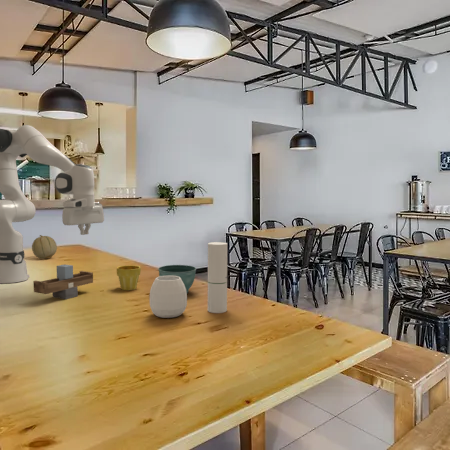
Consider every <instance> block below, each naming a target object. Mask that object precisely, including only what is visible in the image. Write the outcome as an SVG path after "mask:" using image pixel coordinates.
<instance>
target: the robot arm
mask: <svg viewBox="0 0 450 450" xmlns="http://www.w3.org/2000/svg"><path fill="white" fill-rule="evenodd" d="M26 156H28V157H29V158H30V159H31V160H32V161H34V162H35V163H38V164H42V165H45V166H46V165H47V166H51V167H55V168H58V169H59V170H61V171H62V172H60V173H57V175H56V176H55V178H54V188H55V189H56V191H57V192H58V193H59V194H63V195H72V198H70V199H68V200H67V199H66V200H65V201H63V203H62V206H63V207H64V208H63V209H62V219H61V220H62V223H63V225H64V226H77V225H78V226H77V227H78V230H79V231H80V233H79V235H82V236H84V235H89V230H90V229H91V225H92V224H102V223H104V221H105V215H104V209H103V204H102V203H101V202H100V201H97V202H95V200H96V196H95V183H96V181H95V172H94V169H93V166H91V165H87V164H83V163H75V162H74V161H72V159H71V158H69V157H68V155H66V154H65V153H63V152H62V151H61V150H60V149H58V148H57V147H55V145H54V144H52V143H51V142H50V141H49V140H48V139H47V138H46V137H45V136H44V135H43V133H41V131H39V130H38V129H36V128H35V127H34V126H33V125H29V124H23V125H21V126H20V127H18V128H17V130H16V129H5V128H0V193H1V195H2V196H3V197H4V199H0V284H13V283H20V282H24V281H27V280H28V279H29V278H30V274H28V267H27V262H26V260H25V250H24V236H23V234H22V233H21V232H20V231H18V230H16V229H15V228H14V226H13V223H20V222H22V223H23V222H26V221H30V220H32V219H33V218H34V217H35V215H36V211H37V210H36V206H35V204H34V203H33V202H32V201H31V200H29V199H28V197H26V196H25V194H24V192H23V191H22V188H21V186H20V181H19V175H18V167H17V158H18V157H19V158H24V157H26Z"/></svg>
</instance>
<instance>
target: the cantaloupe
mask: <svg viewBox="0 0 450 450" xmlns="http://www.w3.org/2000/svg"><path fill="white" fill-rule="evenodd" d="M57 247H58V245H57V242H56V241H55V239H54V238H53V237H51V236H48V235H42V234H39V236H38V237H36V238H35V239H34V240H33V242H32V243H31V250H32V253H33V255H34V256H35V257H36V258H38V259H41V260H48V259H50V258H51V257H53V256H55V254H56V253H57V251H58V250H57V249H58V248H57Z"/></svg>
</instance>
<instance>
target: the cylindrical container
mask: <svg viewBox="0 0 450 450" xmlns="http://www.w3.org/2000/svg"><path fill="white" fill-rule="evenodd" d="M227 311H228V242H222V241H221V242H220V241H215V242H214V241H213V242H211V241H210V242H208V243H207V312H209V313H212V314H223V313H226V312H227Z"/></svg>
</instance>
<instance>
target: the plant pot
mask: <svg viewBox="0 0 450 450" xmlns="http://www.w3.org/2000/svg"><path fill="white" fill-rule="evenodd" d="M116 276H117V277H118V281H119V285H120V290H122V291H134V290H137V287H138V281H139V277H140V276H141V266H140V265H134V264H132V265H130V264H128V265H119V266H117V267H116Z"/></svg>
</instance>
